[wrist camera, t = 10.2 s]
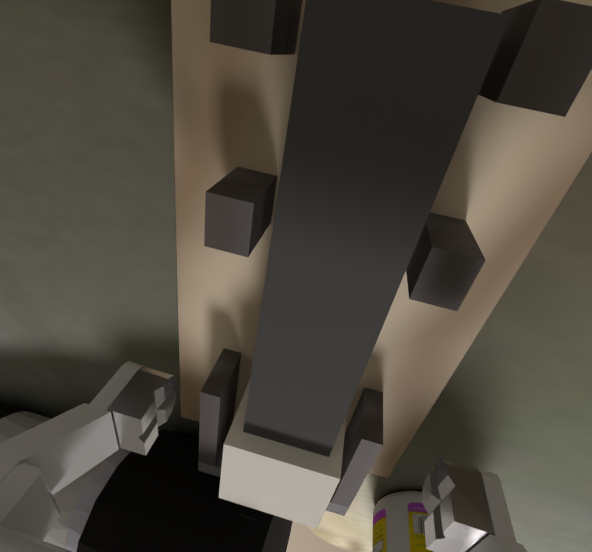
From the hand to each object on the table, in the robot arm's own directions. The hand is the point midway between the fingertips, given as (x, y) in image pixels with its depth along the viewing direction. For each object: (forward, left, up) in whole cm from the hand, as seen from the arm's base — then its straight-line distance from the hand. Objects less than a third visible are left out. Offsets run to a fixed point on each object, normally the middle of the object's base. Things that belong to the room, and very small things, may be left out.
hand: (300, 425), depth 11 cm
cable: (+15, +20, -8) cm, 26 cm away
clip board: (0, 0, -8) cm, 8 cm away
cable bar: (0, 0, -7) cm, 7 cm away
